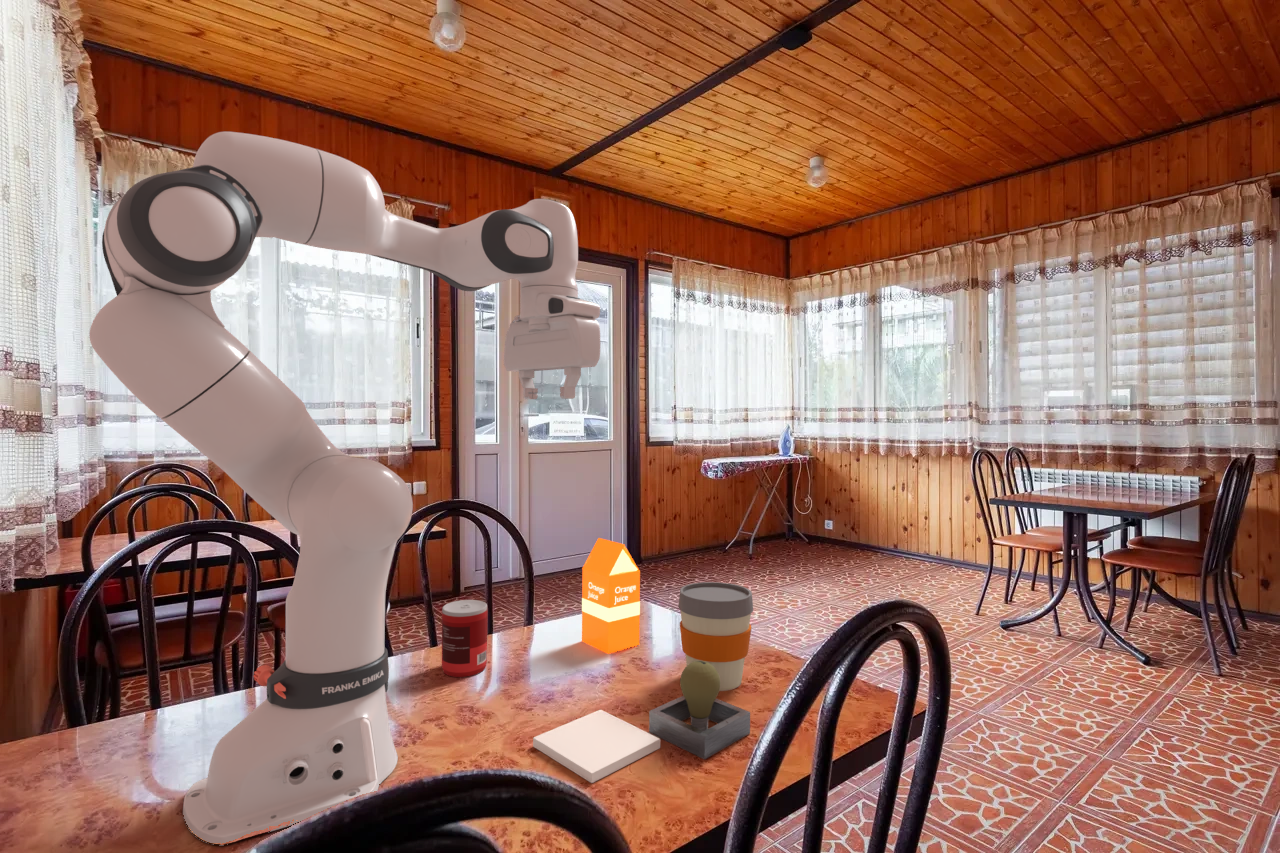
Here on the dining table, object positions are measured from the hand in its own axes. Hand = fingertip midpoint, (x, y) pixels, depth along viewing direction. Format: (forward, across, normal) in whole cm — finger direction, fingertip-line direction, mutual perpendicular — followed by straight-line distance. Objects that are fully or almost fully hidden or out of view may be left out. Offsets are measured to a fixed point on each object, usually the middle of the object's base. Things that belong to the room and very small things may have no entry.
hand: (548, 399), depth 100 cm
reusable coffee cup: (+47, +14, +25) cm, 55 cm away
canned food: (+47, -19, -3) cm, 51 cm away
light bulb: (+47, +24, +9) cm, 53 cm away
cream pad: (+47, +17, -4) cm, 50 cm away
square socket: (+47, +24, +9) cm, 53 cm away
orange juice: (+47, -11, +24) cm, 54 cm away
